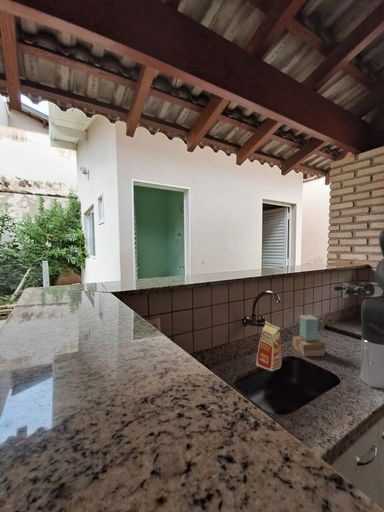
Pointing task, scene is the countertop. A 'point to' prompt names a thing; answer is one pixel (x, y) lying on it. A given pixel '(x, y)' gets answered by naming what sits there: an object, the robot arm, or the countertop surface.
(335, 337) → the countertop surface
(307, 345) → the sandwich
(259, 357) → the milk carton
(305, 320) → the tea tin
